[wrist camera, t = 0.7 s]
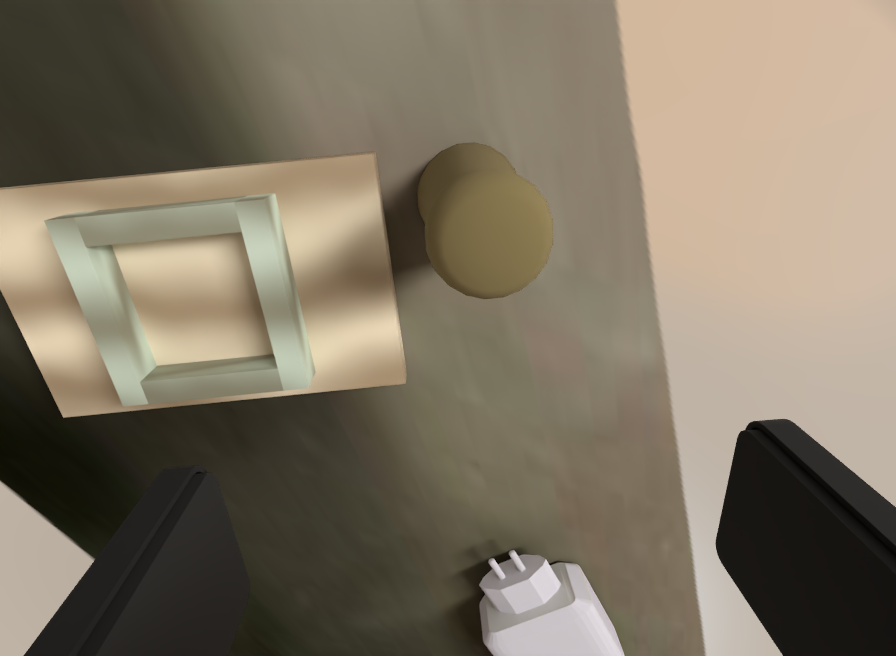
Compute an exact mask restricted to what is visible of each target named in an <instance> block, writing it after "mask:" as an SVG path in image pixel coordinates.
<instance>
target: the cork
mask: <svg viewBox="0 0 896 656" xmlns="http://www.w3.org/2000/svg"><path fill="white" fill-rule="evenodd" d="M417 200H418V209H419V213H420V215H421V217H422V220H423V222H424V224H425V232H424V233H425V243H426V252H427V255H428V257H429V259H430V261H431V264H432V266H433V268H434V270H435V271H436V272H437V273H438V275H439V276H440V277H441V278H442V279H443V280H444V281H445V282H446V283H447V284H448V285H449V286H451V287H452V288H454V289H456V290H458V291H459V292H461V293H463V294H465V295H467V296H472V297H477V298H482V299H491V298H501V297H505V296H508V295H510V294H513V293H515V292H518V291H520V290H522V289H523V288H524V287H525V286H527V285H528V284H529V283H530V282H532V281H533V280H534V279H535V278H536V277H537V276H538V274H539V273H540V271H541V270H542V269H543V267H544V266H545V264H546V263H547V261H548V257H549V254H550V251H551V248H552V245H553V219H552V216H551V213H550V210H549V207H548V204H547V201H546V200H545V199H544V197H543V196H542V195H541V193H540V192H539V191H538V189H537V188H536V187H535V185H533V184H532V183H530V182H529V181H527V180H526V179H524V178H522V177H521V176H519V175H518V174H516V171H515V169H514V168H513V166H512V165H511V164H510V162H509V161H508V160H507V158H506V157H505V156H504V155H502V154H501V153H499V152H498V151H496V150H495V149H493V148H492V147H490V146H486V145H482V144H478V143H463V144H456V145H454V146H452V147H450V148H447V149H445V150H443V151H441V152H440V153H439V154H438V155H437V156H436V157H435V158H433V159H432V160H431V161H430V162H429V163H428V165H427V167H426V169H425V170H424V172H423V174H422V176H421V178H420V182H419V187H418V192H417Z"/></svg>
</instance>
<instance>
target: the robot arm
mask: <svg viewBox="0 0 896 656" xmlns="http://www.w3.org/2000/svg"><path fill="white" fill-rule="evenodd" d="M716 550H717V553H718V556H719V559H720V561H721V563H722V564H723V566H724V567H725V569H726V570H727V572H728V573H729V575H730V576H731V578H732V579H733V581H734V582H735V584H736V585H737V587H738V588H739V590H740V591H741V593H742V594H743V596H744V597H745V599H746V600H747V602H748V603H749V605H750V607H751V608H752V609H753V611H754V612H755V614H756V616H757V617H758V619H759V620H760V621H761V623H762V625H763V626H764V628H765V629H766V631H767V632H768V634H769V635H770V637H771V638H772V640H773V641H774V643H775V644H776V646H777V647H778V649H779V650H780V652H781V653H782V655H783V656H896V507H895V506H893V505H892V504H891V503H890V502H888V501H887V500H886V499H885V498H884V497H882V496H881V495H880V494H879V493H878V492H877V491H875V490H874V489H873V488H872V487H870V486H869V485H868V484H867V483H866V482H864V481H863V480H862V479H861V478H860V477H858V476H857V475H856V474H855V473H854V472H852V471H851V470H850V469H849V468H848V467H846V466H845V465H844V464H843V463H842V462H840V461H839V460H838V459H837V458H835V457H834V456H833V455H832V454H831V453H829V452H828V451H827V450H826V449H825V448H824V447H822V446H821V445H820V444H819V443H818V442H816V441H815V440H814V439H813V438H812V437H810V436H809V435H808V434H807V433H805V432H804V431H803V430H801V428H799V427H798V426H797V425H796V424H795V423H793V422H791V421H790V420H787V419H777V420H765V421H753V422H751V423H749V424H748V426H747V427H746V430H744V431H741V432H740V433H739V435H738V438H737V442H736V447H735V452H734V457H733V461H732V466H731V471H730V476H729V480H728V485H727V490H726V495H725V499H724V504H723V509H722V514H721V518H720V524H719V528H718V533H717V537H716ZM249 590H250V584H249V578H248V575H247V572H246V568H245V565H244V562H243V559H242V556H241V553H240V550H239V547H238V543H237V540H236V537H235V534H234V531H233V528H232V525H231V522H230V519H229V515H228V512H227V509H226V506H225V503H224V500H223V497H222V494H221V490H220V487H219V484H218V481H217V478H216V476H215V475H214V474H213V473H207V472H206V469H205V468H204V467H203V466H200V465H194V466H182V467H169V468H166V469H164V470H163V471H162V472H161V473H160V474H159V475H158V476H157V478H156V479H155V480H154V482H153V483H152V484H151V486H150V487H149V488H148V490H147V491H146V492H145V494H144V495H143V496H142V498H141V499H140V500H139V502H138V503H137V504H136V506H135V507H134V508H133V510H132V511H131V512H130V514H129V515H128V516H127V518H126V519H125V521H124V522H123V523H122V525H121V526H120V527H119V529H118V530H117V531H116V533H115V534H114V535H113V537H112V538H111V539H110V541H109V542H108V543H107V545H106V546H105V547H104V549H103V550H102V551H101V553H100V554H99V555H98V557H97V558H96V559H95V561H94V562H93V563H92V565H91V566H90V568H89V569H88V570H87V572H86V573H85V574H84V576H83V577H82V578H81V580H80V581H79V582H78V584H77V585H76V586H75V588H74V589H73V590H72V592H71V593H70V594H69V596H68V597H67V598H66V600H65V601H64V602H63V604H62V605H61V606H60V608H59V609H58V611H57V612H56V613H55V614H54V616H53V617H52V618H51V620H50V621H49V623H48V624H47V625H46V626H45V628H44V629H43V630H42V632H41V633H40V635H39V636H38V637H37V639H36V640H35V641H34V643H33V644H32V645H31V647H30V648H29V649H28V651H27V652H26V653H25V655H24V656H228V653H229V651H230V648H231V645H232V643H233V640H234V637H235V634H236V632H237V629H238V626H239V623H240V621H241V618H242V615H243V613H244V610H245V607H246V604H247V601H248V597H249Z"/></svg>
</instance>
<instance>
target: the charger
mask: <svg viewBox="0 0 896 656" xmlns="http://www.w3.org/2000/svg"><path fill="white" fill-rule="evenodd" d="M509 555H510V557H511V558H512V559H510V560H507V561H505V562H502V563H500V564H497V562H496V561H495V559H494V558H491V559H489V561H488V563H489V564H490V566H491V567H492V568H493V569H492V570H491V571H490V572H488V573H487V574H486V575H485V576H484V577H483V579H482V581H481V583H480V584H479V586H480V587H481V589H482V590H483V591H484V593H485V595H484V597H483V598H482V600H481V602H480V605H479V607H480V616H481V625H482V634H483V642H484V644H485V645H486V646H487V648H488V649H489V650H490V652H491V653H492V654H493V656H624V653H623V650H622V648H621V645H620V642H619V639H618V637H617V634H616V631H615V628H614V626H613V625H612V623H611V621H610V619H609V617H608V616H607V614H606V612H605V610H604V609H603V607H602V605H601V603H600V602H599V600H598V598H597V596H596V594H595V593H594V591H593V589H592V587H591V586H590V584H589V582H588V580H587V578H586V577H585V575H584V573H583V571H582V570H581V568H580V566H579V565H578V564H575V563H561V562H560V563H556V564H553V565H549V563H548V562H547V560H546V559H545V558H543V557H541V556H539V555H520V556H518V555H517V554H516V552H515V551H514V550H511V551H510V552H509Z"/></svg>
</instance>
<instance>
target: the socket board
mask: <svg viewBox="0 0 896 656" xmlns="http://www.w3.org/2000/svg"><path fill="white" fill-rule="evenodd" d="M0 290H1V292H2V294H3V296H4V298H5V300H6V302H7V304H8V306H9V308H10V310H11V312H12V314H13V316H14V318H15V320H16V322H17V324H18V326H19V328H20V330H21V332H22V334H23V336H24V338H25V340H26V343H27V345H28V347H29V349H30V351H31V353H32V355H33V357H34V359H35V361H36V363H37V365H38V367H39V369H40V371H41V373H42V375H43V377H44V379H45V381H46V383H47V385H48V387H49V389H50V391H51V393H52V395H53V397H54V400H55V402H56V404H57V406H58V408H59V410H60V412H61V414H62V416H63V418H64V417H74V416H85V415H95V414H105V413H115V412H125V411H135V410H145V409H155V408H165V407H175V406H185V405H195V404H206V403H216V402H226V401H236V400H246V399H256V398H266V397H276V396H286V395H296V394H306V393H316V392H326V391H337V390H347V389H357V388H367V387H377V386H387V385H397V384H406V366H405V359H404V352H403V344H402V337H401V330H400V323H399V316H398V309H397V302H396V294H395V287H394V280H393V273H392V266H391V259H390V252H389V244H388V237H387V230H386V223H385V216H384V209H383V202H382V194H381V187H380V180H379V173H378V166H377V159H376V152H368V153H357V154H347V155H336V156H326V157H316V158H305V159H295V160H285V161H274V162H264V163H253V164H243V165H233V166H222V167H212V168H202V169H191V170H181V171H170V172H160V173H150V174H139V175H129V176H119V177H108V178H98V179H88V180H77V181H67V182H56V183H46V184H36V185H25V186H15V187H5V188H0Z"/></svg>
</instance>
